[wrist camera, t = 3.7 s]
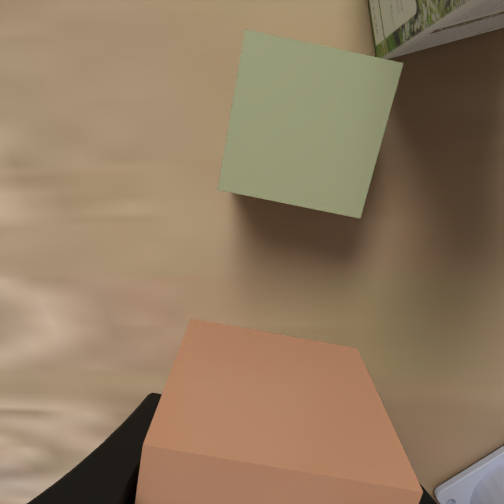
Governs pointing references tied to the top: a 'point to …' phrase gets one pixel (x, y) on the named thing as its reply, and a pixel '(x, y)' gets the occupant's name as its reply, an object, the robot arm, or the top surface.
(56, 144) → the top surface
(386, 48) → the syrup box
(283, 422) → the terracotta block
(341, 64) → the olive block
